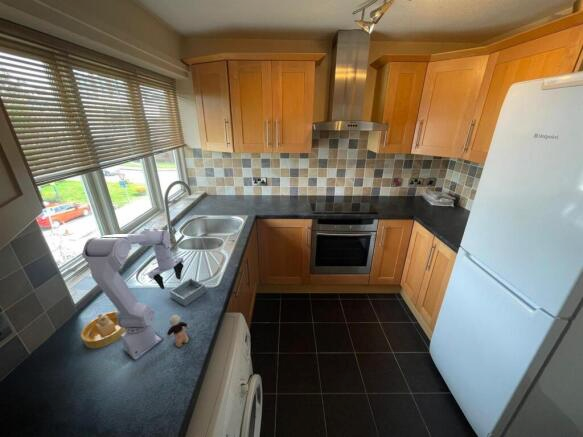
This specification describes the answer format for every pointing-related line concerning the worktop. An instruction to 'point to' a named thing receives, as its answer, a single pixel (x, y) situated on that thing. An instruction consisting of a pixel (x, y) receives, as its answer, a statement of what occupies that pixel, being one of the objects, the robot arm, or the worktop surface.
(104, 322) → the toy
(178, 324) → the grandmother figurine
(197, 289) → the tub
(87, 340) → the bowl
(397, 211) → the worktop surface
